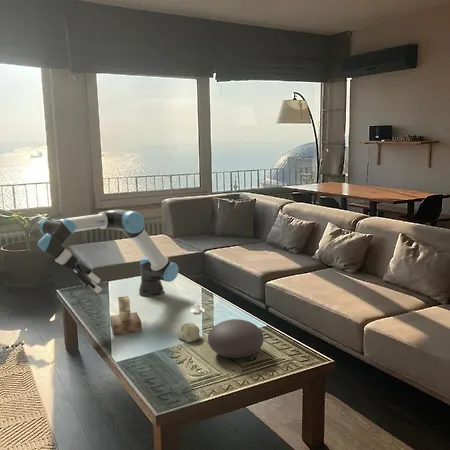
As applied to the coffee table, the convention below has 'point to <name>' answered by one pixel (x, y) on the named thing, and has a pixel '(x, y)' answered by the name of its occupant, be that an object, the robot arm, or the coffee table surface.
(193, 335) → the decorative item
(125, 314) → the beech block
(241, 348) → the flattened ellipsoid
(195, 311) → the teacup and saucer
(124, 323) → the walnut block
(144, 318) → the coffee table surface
